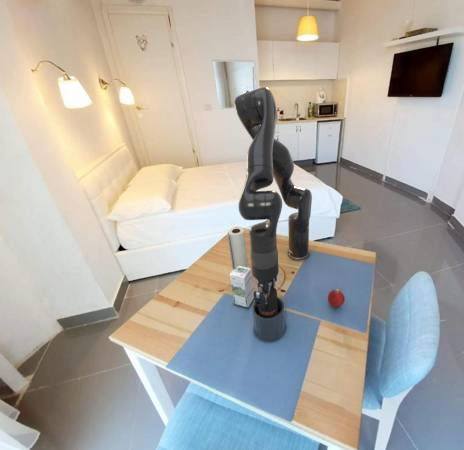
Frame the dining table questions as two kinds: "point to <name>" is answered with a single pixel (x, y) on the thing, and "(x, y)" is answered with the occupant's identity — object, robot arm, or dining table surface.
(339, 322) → the dining table surface
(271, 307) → the deodorant
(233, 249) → the paper towel roll
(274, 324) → the dark grey cup
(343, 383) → the dining table surface
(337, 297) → the onion
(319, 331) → the dining table surface
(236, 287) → the syrup box
